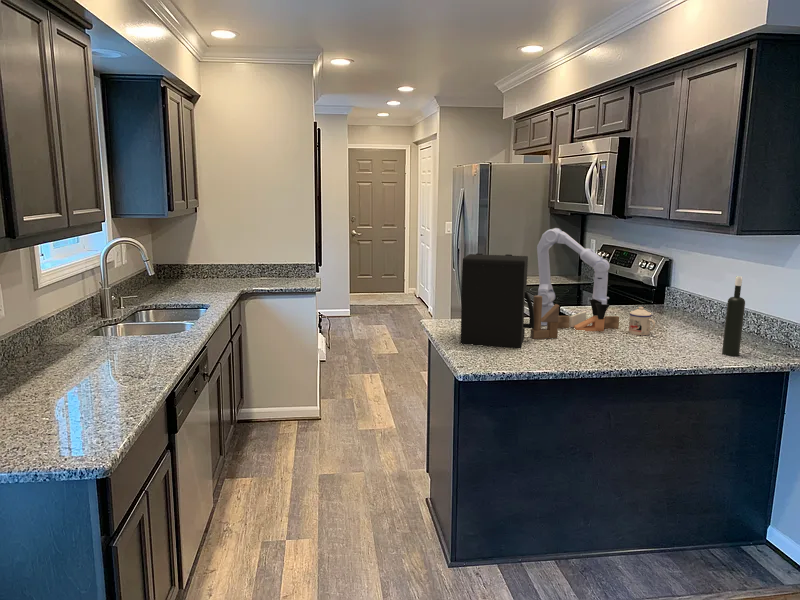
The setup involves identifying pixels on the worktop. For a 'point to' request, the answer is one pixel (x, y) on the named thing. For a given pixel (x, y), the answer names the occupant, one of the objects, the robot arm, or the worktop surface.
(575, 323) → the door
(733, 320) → the wine bottle
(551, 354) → the worktop surface
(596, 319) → the wedge
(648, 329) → the teacup with lid
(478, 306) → the black upright box
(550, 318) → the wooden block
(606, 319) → the brown rectangular block
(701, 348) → the worktop surface
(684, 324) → the worktop surface
